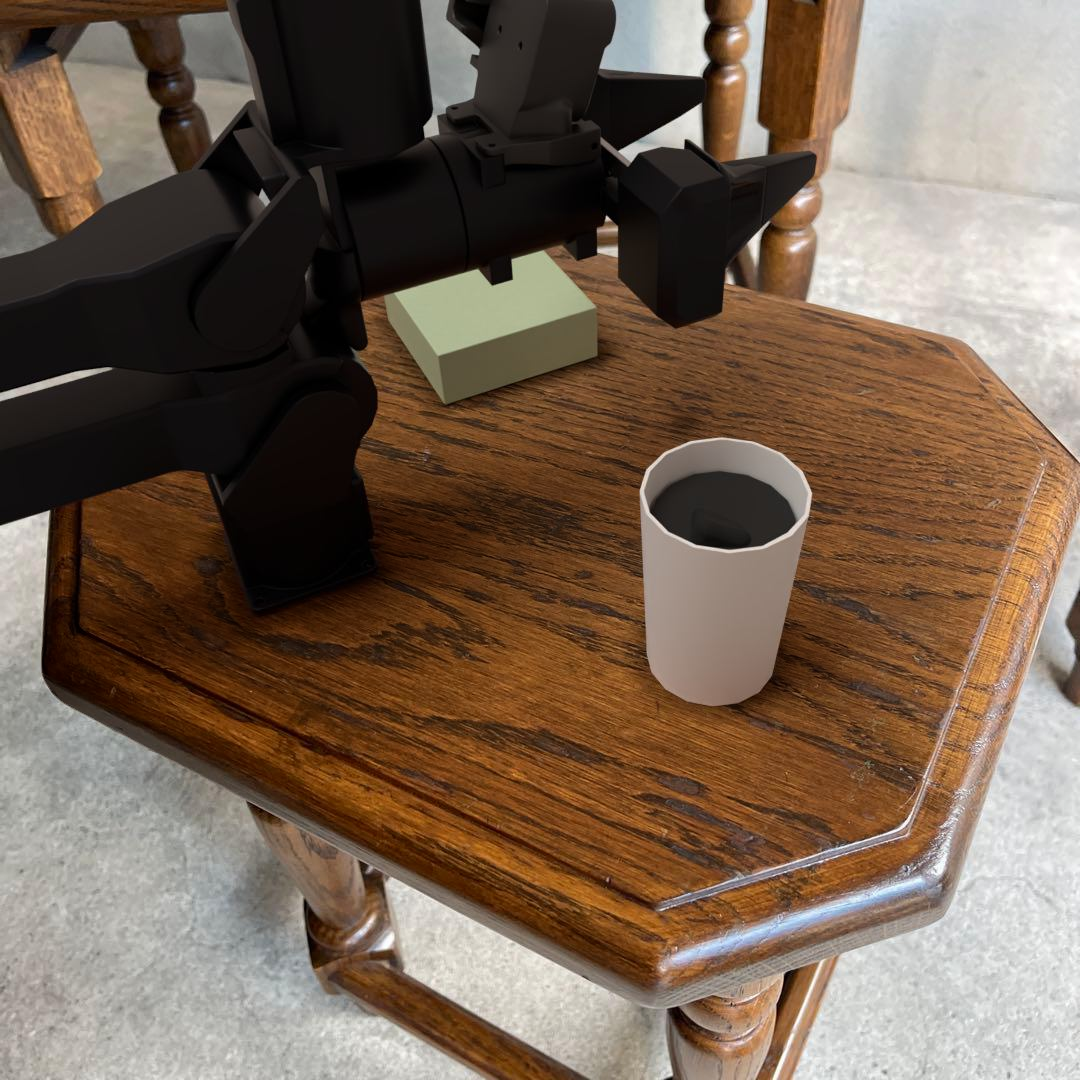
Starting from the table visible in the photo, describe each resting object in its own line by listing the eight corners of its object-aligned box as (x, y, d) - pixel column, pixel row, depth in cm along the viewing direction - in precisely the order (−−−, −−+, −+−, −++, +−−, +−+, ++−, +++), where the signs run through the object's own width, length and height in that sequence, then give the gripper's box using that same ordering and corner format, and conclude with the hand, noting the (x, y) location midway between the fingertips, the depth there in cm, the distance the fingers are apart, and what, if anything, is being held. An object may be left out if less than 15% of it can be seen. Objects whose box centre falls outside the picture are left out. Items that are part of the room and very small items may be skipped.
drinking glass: (791, 717, 47) (821, 554, 40) (635, 712, 48) (638, 551, 41) (779, 601, 52) (804, 438, 45) (638, 598, 53) (640, 436, 46)
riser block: (444, 405, 64) (437, 355, 62) (388, 320, 71) (379, 272, 68) (598, 356, 67) (597, 306, 64) (529, 279, 73) (526, 231, 71)
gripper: (520, 98, 35) (920, 1, 39) (343, -58, 47) (661, -120, 52) (538, 382, 43) (869, 275, 47) (382, 184, 55) (656, 114, 59)
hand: (756, 123), depth 51 cm, fingers open, 9 cm apart
